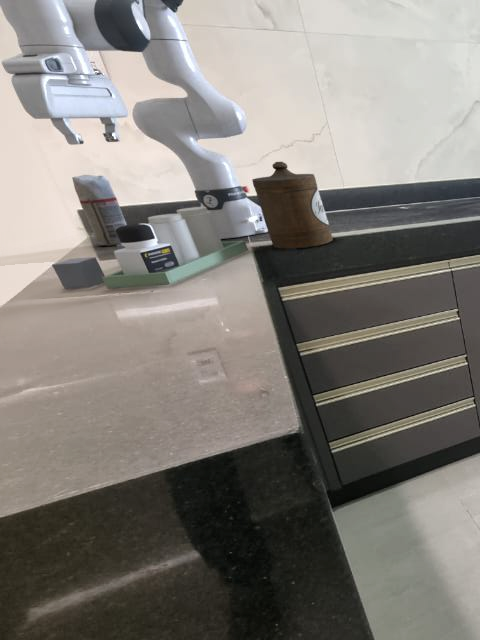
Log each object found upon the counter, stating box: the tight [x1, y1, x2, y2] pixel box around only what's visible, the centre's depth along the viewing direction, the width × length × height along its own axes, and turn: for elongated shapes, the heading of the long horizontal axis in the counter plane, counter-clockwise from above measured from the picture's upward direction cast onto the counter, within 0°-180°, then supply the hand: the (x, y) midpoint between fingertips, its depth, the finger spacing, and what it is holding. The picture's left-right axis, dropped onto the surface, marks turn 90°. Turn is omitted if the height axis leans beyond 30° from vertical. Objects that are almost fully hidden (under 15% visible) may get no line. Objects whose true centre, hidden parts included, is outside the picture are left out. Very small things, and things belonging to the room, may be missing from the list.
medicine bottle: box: [113, 223, 180, 275], centre depth 117 cm, size 7×7×12 cm
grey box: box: [51, 256, 106, 290], centre depth 116 cm, size 5×5×6 cm
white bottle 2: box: [176, 206, 224, 257], centre depth 135 cm, size 7×7×12 cm
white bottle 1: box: [147, 213, 200, 265], centre depth 126 cm, size 7×7×12 cm
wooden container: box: [251, 161, 334, 250], centre depth 145 cm, size 15×15×22 cm
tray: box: [102, 240, 249, 289], centre depth 128 cm, size 32×13×3 cm, turn 7°
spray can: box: [71, 174, 128, 246], centre depth 158 cm, size 8×8×20 cm
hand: (96, 143), depth 107 cm, fingers open, 8 cm apart
